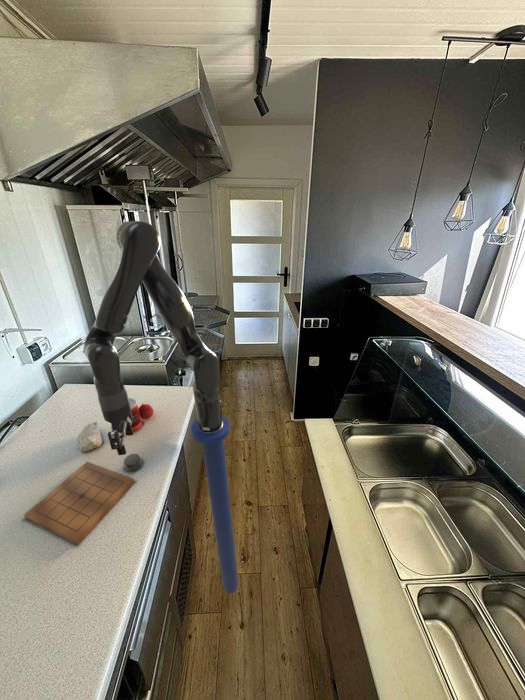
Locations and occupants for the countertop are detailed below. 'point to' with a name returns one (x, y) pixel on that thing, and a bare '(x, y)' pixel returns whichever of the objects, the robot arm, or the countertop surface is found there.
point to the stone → (89, 437)
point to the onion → (145, 411)
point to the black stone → (132, 462)
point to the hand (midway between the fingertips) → (126, 444)
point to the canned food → (135, 415)
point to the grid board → (79, 502)
